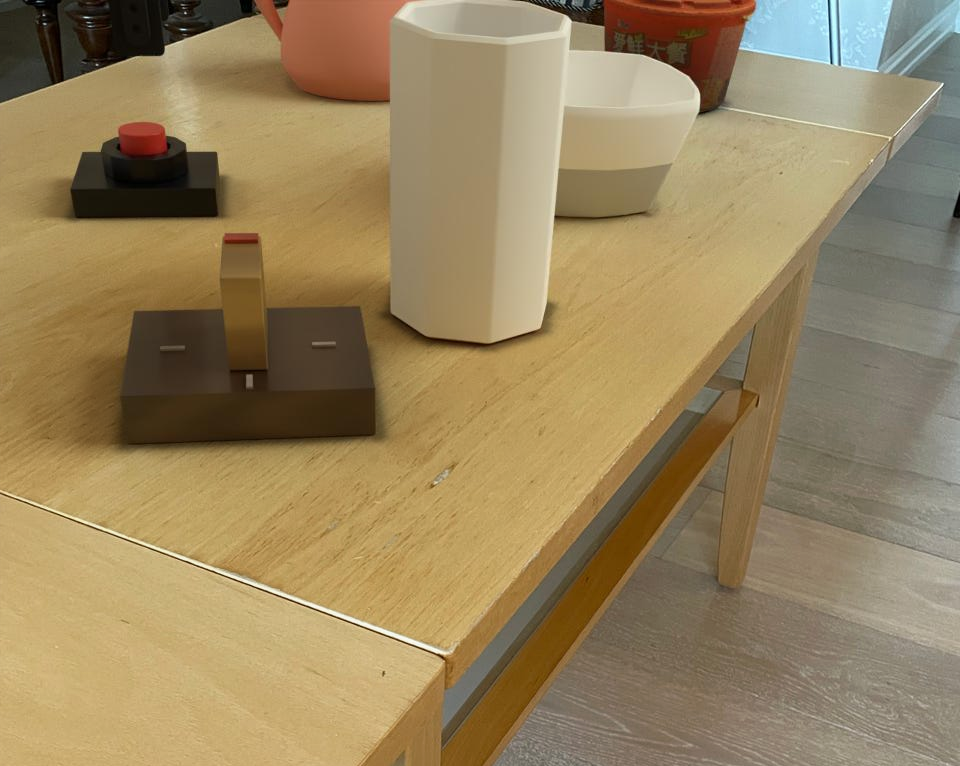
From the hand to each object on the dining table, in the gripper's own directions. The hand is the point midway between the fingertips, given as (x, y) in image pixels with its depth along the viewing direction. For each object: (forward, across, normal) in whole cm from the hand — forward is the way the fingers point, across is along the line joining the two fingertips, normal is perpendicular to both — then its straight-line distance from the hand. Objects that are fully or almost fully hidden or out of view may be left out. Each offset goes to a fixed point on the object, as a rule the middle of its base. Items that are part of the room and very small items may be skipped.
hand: (144, 36), depth 81 cm
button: (+10, -7, -2) cm, 12 cm away
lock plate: (+14, +27, +6) cm, 31 cm away
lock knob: (+10, +27, +6) cm, 30 cm away
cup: (+14, +16, +21) cm, 30 cm away
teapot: (+14, -40, +20) cm, 47 cm away
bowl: (+14, -6, +34) cm, 37 cm away
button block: (+14, -7, -2) cm, 15 cm away
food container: (+14, -35, +51) cm, 63 cm away
